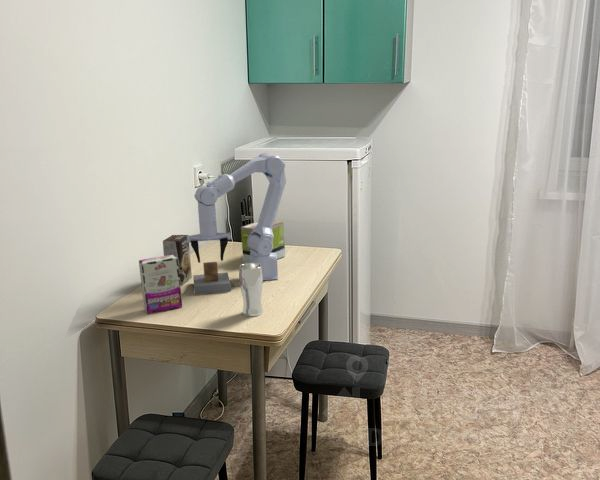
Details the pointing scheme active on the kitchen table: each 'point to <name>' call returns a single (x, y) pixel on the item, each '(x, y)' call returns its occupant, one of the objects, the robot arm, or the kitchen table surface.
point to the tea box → (277, 240)
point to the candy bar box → (160, 283)
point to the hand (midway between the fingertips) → (210, 260)
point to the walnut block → (210, 271)
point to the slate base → (211, 284)
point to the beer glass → (251, 288)
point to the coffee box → (179, 255)
